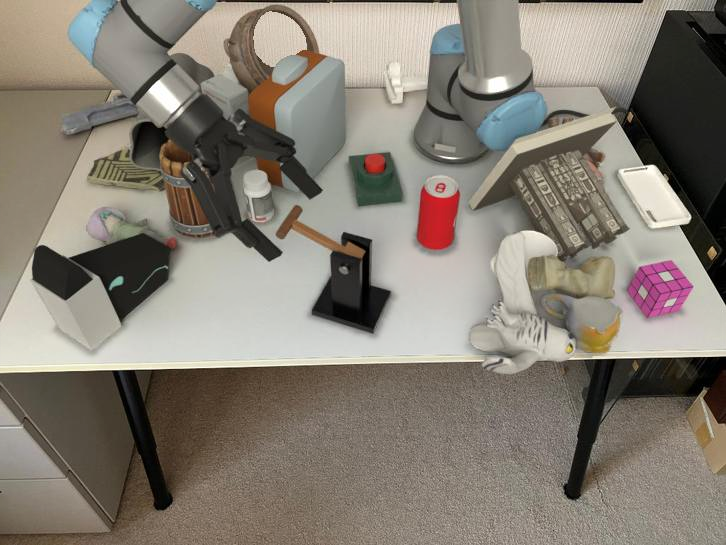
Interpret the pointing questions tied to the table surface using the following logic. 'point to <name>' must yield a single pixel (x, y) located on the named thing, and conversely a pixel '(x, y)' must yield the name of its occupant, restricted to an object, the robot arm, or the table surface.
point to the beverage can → (438, 212)
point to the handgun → (98, 114)
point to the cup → (534, 248)
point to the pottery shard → (124, 173)
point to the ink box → (226, 95)
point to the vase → (150, 137)
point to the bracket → (352, 289)
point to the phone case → (653, 196)
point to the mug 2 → (587, 320)
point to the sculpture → (573, 277)
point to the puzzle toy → (659, 288)
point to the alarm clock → (303, 111)
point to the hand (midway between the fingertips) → (297, 224)
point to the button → (375, 163)
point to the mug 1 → (182, 193)
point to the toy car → (230, 74)
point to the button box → (375, 181)
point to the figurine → (590, 157)
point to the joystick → (401, 82)
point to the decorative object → (99, 285)
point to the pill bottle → (258, 196)
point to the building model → (557, 185)
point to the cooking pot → (242, 46)
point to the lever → (314, 234)
